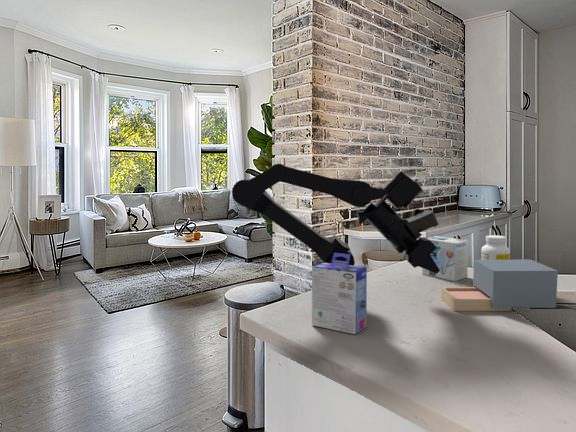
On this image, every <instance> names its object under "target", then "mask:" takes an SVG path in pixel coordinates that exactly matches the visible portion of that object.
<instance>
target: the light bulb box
mask: <svg viewBox="0 0 576 432" xmlns="http://www.w3.org/2000/svg"><path fill="white" fill-rule="evenodd" d="M426 238H427V239H428V240H430V241H431V242H432V243H433V244H434V245H435V246H436V247H437V248H436V250H434V251H433V252H432V253H431V254H430V255H431V257H432V258H433V260H434V262H435V263H436V265H437V266H438V268H439V270H440V271H439V272H438V273H437V274H436V273H433V272H431V271H429V270H426V269H424V268H421V269H422V271H421V274H422V275H425V276H430V277H433V278H434V277H435V278H436V279H437V278H439V279H443V280H446V281H447V280H448V281H451V282H457V281H461V280H465V279H467V278H468V269H469V268H468V266H469V240H468V239H461V238H453V237H445V236H441V235H440V236H438V235H433V236H430V237H426ZM460 279H461V280H460Z"/></svg>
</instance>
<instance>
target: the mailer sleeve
mask: <svg viewBox="0 0 576 432" xmlns="http://www.w3.org/2000/svg"><path fill="white" fill-rule="evenodd" d="M558 273H559V271H558V270H557V269H554V268H552V267H550V266H548V265H545V264H542V263H541V262H538V261H535V260H533V259H526V258H524V259H510V260H481V259H473V274H472V275H473V279H472V287H477V288H479V289H480V290H481V291H483V292H484V293H486V294H487V295H488V296H490V297H491V298H492V304H491V307H492V308H511V309H514V308H515V309H521V308H522V309H531V308H532V309H539V308H540V309H555V308H557V292H558Z"/></svg>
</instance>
